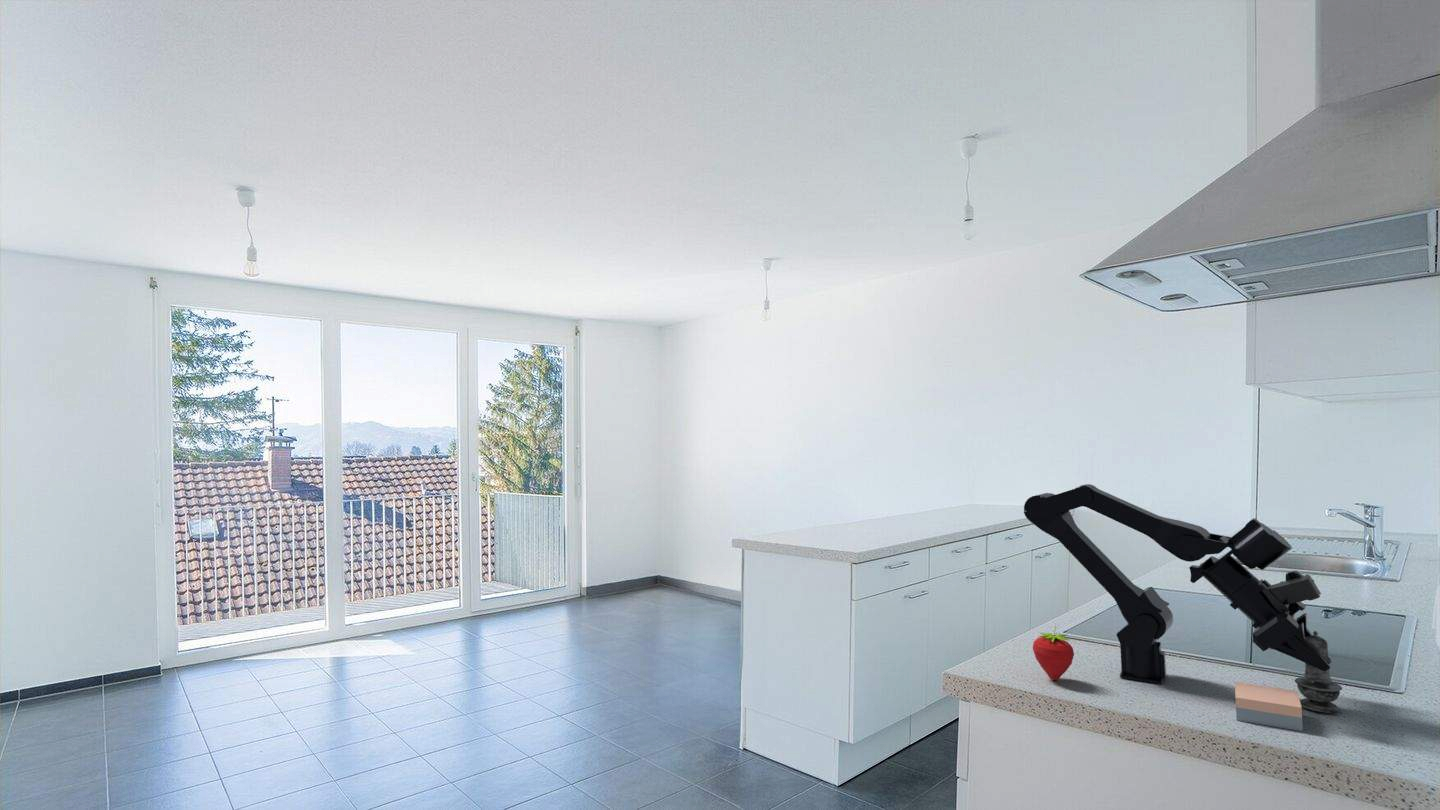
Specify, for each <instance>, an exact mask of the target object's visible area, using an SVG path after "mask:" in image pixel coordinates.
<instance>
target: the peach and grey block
mask: <svg viewBox="0 0 1440 810" xmlns="http://www.w3.org/2000/svg"><path fill="white" fill-rule="evenodd" d="M1234 689H1235V691H1234V692H1235V694H1234V695H1235V697H1234V698H1235V713H1236V721H1240V722H1245V723H1250V724H1256V725H1262V726H1268V727H1273V728H1274V727H1275V728H1280V729H1286V730H1292V731H1298V732H1304V726H1303V724H1304V723H1303V711H1302V709H1303V707H1302V706H1301V703H1300V700H1301V699H1300V695H1299V692H1298V691H1299V690H1293V689H1285V688H1279V687H1273V686H1265V685H1264V686H1263V685H1259V684H1250V683H1246V682H1245V683H1244V682H1237V681H1236V682H1234Z"/></svg>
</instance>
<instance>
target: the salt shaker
mask: <svg viewBox="0 0 1440 810" xmlns="http://www.w3.org/2000/svg"><path fill="white" fill-rule="evenodd" d="M1318 634H1319V632H1317V631H1316V630H1314V631H1313V632H1312V636H1309V637H1307V638H1306V639H1307V640H1308V641H1309V642H1310V643H1311V644H1312V646H1313V647H1314V648H1315V649H1316V650H1317V651H1318V653H1319V654H1320V655H1321V656H1322V657H1323V658H1324V660H1325V661H1326V662H1327V663H1328V665H1329V666H1330V665H1331V664H1332V660H1331V661H1330V660H1329V659H1328V656H1329V650H1328V649H1329V647H1328V641H1327V640H1326V639H1325V638H1324V637H1320V636H1319V635H1318ZM1304 664H1305V665H1304V668H1305V671H1304V675H1303V676H1301V677H1297V678H1295V679H1294V683H1296V685H1297V689H1298V691H1299V693H1300V694H1301V695H1302V696H1303V697H1304V698H1302V699H1300V703H1301V707H1302V708H1305V709H1307V710H1310V711H1315V712H1319V713H1327V714H1335V713H1337V714H1338V713H1340V712H1341V707H1339V706H1338V705H1336V704H1335V703H1334V702H1335V701H1336V700H1337V699H1339V697H1340V694H1341V692H1340V691H1342V690H1343V687H1342V686H1341V685H1340V684H1338V683H1336V682H1335V681H1333V680H1332V678H1331V675H1330V669H1328V670H1327V671H1322V670H1320V669H1318V668H1316V667H1313V666H1311V665H1309V664H1307V663H1305V662H1304Z"/></svg>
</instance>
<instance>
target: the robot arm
mask: <svg viewBox="0 0 1440 810" xmlns="http://www.w3.org/2000/svg"><path fill="white" fill-rule="evenodd" d="M1081 507H1085V508H1087V509H1089V510H1092V511H1093V512H1096V513H1099V514H1100V515H1102V516H1105V517H1107V518H1109V519H1111V520H1113V521H1115V522H1118V523H1120V524H1122V525H1124V526H1126V527H1128V528H1131V529H1133V530H1135V531H1137V532H1139V533H1141V534H1144V535H1145V536H1147V537H1149V538H1150V539H1151V540H1153V541H1154V542H1155V543H1156V544H1157V545H1158V546H1160V547H1161V548H1162V549H1164V550H1165V551H1167V552H1169V553H1170V554H1172V555H1173V556H1174V557H1176V558H1178V559H1179V560H1181V561H1185V562H1191V563H1192V562H1196V561H1199V560H1201V559H1203V558H1204V557H1206V555H1210V556H1209V557H1208V558H1207V559H1206V560H1204V561H1203V562H1202V563H1200V564H1199V565H1196V564H1195V565H1193V564H1192V565H1190V567H1188V569H1189V572H1190V580H1189V581H1190V582H1191V583H1192V584H1195V583H1196V582H1198V581H1199V580H1200V579H1201V578H1202V579H1203V578H1204V579H1205V580H1206V581H1207V582H1208V583H1210V584H1211V585H1212V586H1213V587H1214V588H1215V589H1216V590H1217V591H1218V592H1219V593H1220V594H1222V595H1223V597H1224V598H1226V599H1227V600H1228V601H1229V602H1230V604H1229V606H1230V607H1231V608H1232V609H1233V610H1236V609H1238V611H1240V612H1241V613H1242V614H1243V615H1244V616H1246V618H1248V620H1250V621H1251V622H1252V624H1251V626H1252V627H1253V628H1254V630H1253V632H1252V643H1254V644H1255V645H1256V646H1257V647H1258V648H1259V649H1260V650H1261V651H1262V652H1265V651H1267V650H1269V649H1271V650H1275V651H1277V652H1279V653H1282V654H1283V655H1287V656H1289V657H1292V658H1294V659H1296V660H1298V661H1301V662H1303V663H1304V664H1305V663H1307V664H1309V665H1311V666H1313V667H1316V668H1318V669H1320V670H1322V671H1327V670H1328V669H1329V670H1330V669H1331V666H1330V664H1329V665H1328V663H1327V662H1326V661H1325V660H1324V658H1323V657H1322V656H1321V655H1320V654H1319V653H1318V651H1317V650H1316V649H1315V648H1314V647H1313V646H1312V644H1311V643H1310V642H1309V641H1308V640H1307V639H1306V638H1307V637H1309V636H1312V635H1313V633H1312V632H1311V631H1310V630H1309V628H1308V614H1307V612H1305V613H1303V614H1302V615H1300V616H1299V617H1298V616H1297V615H1296V613H1298V612H1299V611H1301V612H1303V610H1305V609H1306V607H1307V606H1306V604H1304V603H1303V602H1304V601H1314V600H1317V599H1319V598H1321V594H1322V593H1321V591H1320V590H1319V588H1318V585H1316V583H1315V579H1313V578H1312V576H1311V575H1310V574H1302V573H1300V572H1299V571H1298V570H1292V571H1288V572H1286V574H1285V580H1283V581H1280V582H1277V583H1274V584H1271V583H1269V581H1267V580H1266V579H1262V578H1261V579H1259V578H1257V576H1255V575H1253V573H1252V572H1250V571H1249V570H1248V569H1247V568H1249V569H1251V570H1254V569H1255V568H1257V569H1259V570H1261V571H1264V570H1265V569H1267V568H1269V566H1271V565H1272V564H1273V563H1275V562H1276V561H1277V560H1279V559H1280V558H1282V557H1283V556H1284V555H1285V554H1287V553H1288V552H1290V551H1291V550H1292V549H1293V546H1292V545H1291V544H1290V543H1289V542H1288V541H1287V540H1286V539H1285V538H1284V537H1283V536H1282V535H1280V533H1279V532H1277V531H1276V530H1275V529H1274V530H1273V529H1272V528H1270V527H1269V526H1267V525H1266V524H1264V523H1262V522H1261V521H1259V520H1258V519H1257V518H1252V519H1250V520H1249V521H1248V522H1247V523H1246V524H1245V526H1244V527H1243V528H1241V529H1239V530H1238V531H1237V532H1236V533H1235V534H1234V535H1232V536H1229V535H1228V536H1227V535H1221V534H1217V533H1210V532H1209V531H1208V530H1207V529H1206V528H1205V527H1203V526H1200V525H1197V524H1195V523H1194V524H1193V523H1189V522H1185V521H1183V520H1179V519H1174V518H1169V517H1166V516H1161V515H1158V514H1155V513H1153V512H1152V511H1149V510H1147V509H1145V508H1142V507H1141V506H1137V505H1135V504H1133V503H1131V502H1128V501H1126V500H1125V499H1122V498H1120V497H1117V496H1115V495H1113V494H1110V493H1109V492H1106V491H1104V490H1101V489H1099V488H1098V487H1096V486H1095V485H1093V484H1090V483H1088V484H1082V485H1081V484H1080V485H1079V486H1076V487H1075V488H1072V489H1070V490H1066V491H1063V492H1061V493H1060V492H1059V493H1057V494H1055V493H1051V492H1049V493H1048V492H1045V493H1040V494H1036V495H1033V496H1032V495H1031V496H1030V497H1028V499H1026V501H1025V502H1024V505H1023V514H1024V517H1026V520H1027V521H1029V522H1031V524H1033V525H1034V526H1036V527H1037V528H1038V529H1039V530H1041V531H1042V532H1043V533H1045V534H1047V535H1049V536H1051V537H1053V538H1055V540H1057V541H1059V542H1060V543H1061V544H1062V546H1063V547H1064V548H1065V549H1066V550H1067V551H1068V552H1069V553H1070V554H1071V555H1072V556H1073V557H1074V558H1075V559H1076V560H1077V562H1078V563H1079V564H1080V565H1082V567H1083V568H1084V569H1085V570H1086V571H1087V572H1088V573H1089V574H1090V575H1091V576H1092V577H1093V578H1094V579H1095V580H1096V582H1098V584H1100V586H1102V588H1103V589H1104V590H1105V591H1106V592H1107V593H1108V594H1109V595H1110V596H1111V597H1112V599H1114V601H1115V603H1116V605H1117V608H1118V609H1119V612H1120V613H1121V615H1122V618H1124V620H1125V621H1126V623H1127V624H1126V625H1125V626H1124V627H1123V628H1121V629H1120V630H1119V631H1117V633H1115V634H1116V637H1117V639H1118V642H1119V644H1120V646H1119V647H1120V666H1121V667H1120V668H1121V671H1120V673H1119V678H1121V679H1126V680H1134V681H1140V682H1146V683H1153V684H1162V683H1163V679H1165V678H1166V675H1167V667H1166V666H1167V664H1166V663H1167V662H1166V652H1165V651H1164V650H1162V642H1161V641H1160V642H1159V641H1158V640H1160V639H1161V638H1162V637H1163V636H1164V635H1165V634H1166V633H1167V632H1168V631H1169V629H1170V628H1171V627H1172V625H1173V622H1174V613H1172V610H1171V609H1170V607H1168V606H1170V603H1169V602H1168V601H1165V600H1164V599H1163V598H1162V597H1160V595H1159V594H1158V593H1157V591H1156V590H1155V588H1153V587H1152V586H1149V587H1148V588H1147V589H1146V590H1145V589H1143V588H1141V587H1140V586H1137V585H1136V584H1135V583H1133V582H1132V581H1131V579H1130V578H1128V577H1127V576H1126V574H1124V572H1122V570H1121V569H1120V568H1118V566H1116V564H1114V563H1113V562H1112V560H1110V558H1109V557H1108V556H1107V555H1106V554H1105V553H1104V552H1102V550H1101V549H1100V548H1099V547H1098V546H1097V545H1096V544H1095V543H1094V542H1093V541H1092V540H1091V539H1090V538H1089V537H1088V536H1087V534H1085V533H1084V532H1083V531H1082V530H1081V529H1080V528H1079V527H1078V526H1077V524H1076V522H1075V520H1074V518H1073V516H1072V515H1073V514H1071V512H1070V511H1071V510H1074V509H1077V508H1081ZM1227 548H1229V549H1230V550H1229V551H1228V552H1227V553H1225V554H1224V555H1222V557H1220V558H1217V557H1215V556H1213V555H1218V554H1220V553H1222V552H1223V551H1224V550H1226V549H1227ZM1211 555H1212V556H1211ZM1233 556H1234V557H1233ZM1235 557H1236V558H1235ZM1242 564H1243V565H1242ZM1245 566H1246V567H1247V568H1246V567H1245ZM1328 659H1329V660H1330V661H1331V662H1332V659H1331V658H1330V657H1329V655H1328Z"/></svg>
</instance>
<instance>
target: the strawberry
mask: <svg viewBox="0 0 1440 810" xmlns="http://www.w3.org/2000/svg"><path fill="white" fill-rule="evenodd" d="M1056 629H1057V625H1055V627H1054V630H1053V631H1054V632H1053V633H1050V632H1047V633H1046V632H1039V634H1040V636H1038V637H1037V638H1036V639H1035V640H1033V644H1032V651H1033V655H1034V657H1035V660H1036V661H1037V662H1038V663H1039V665H1040V667H1041V668H1042V669H1043V671H1044V672H1045V674H1046V675H1047V676H1048V678H1049V679H1050V680H1051V679H1053V680H1056V681H1058V680H1059V679H1060V678H1061V677H1062V676H1063V675H1064V674H1065V673H1066V672H1067V670H1068V669H1069V668H1070V666H1071V665H1072V664H1073V659H1074V656H1075V652H1074V649H1073V646H1072V645H1071V644H1070V642H1068V641H1070V639H1069V638H1067V637H1066V636H1068V634H1062V633H1057V634H1056ZM1053 680H1052V681H1053Z"/></svg>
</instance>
